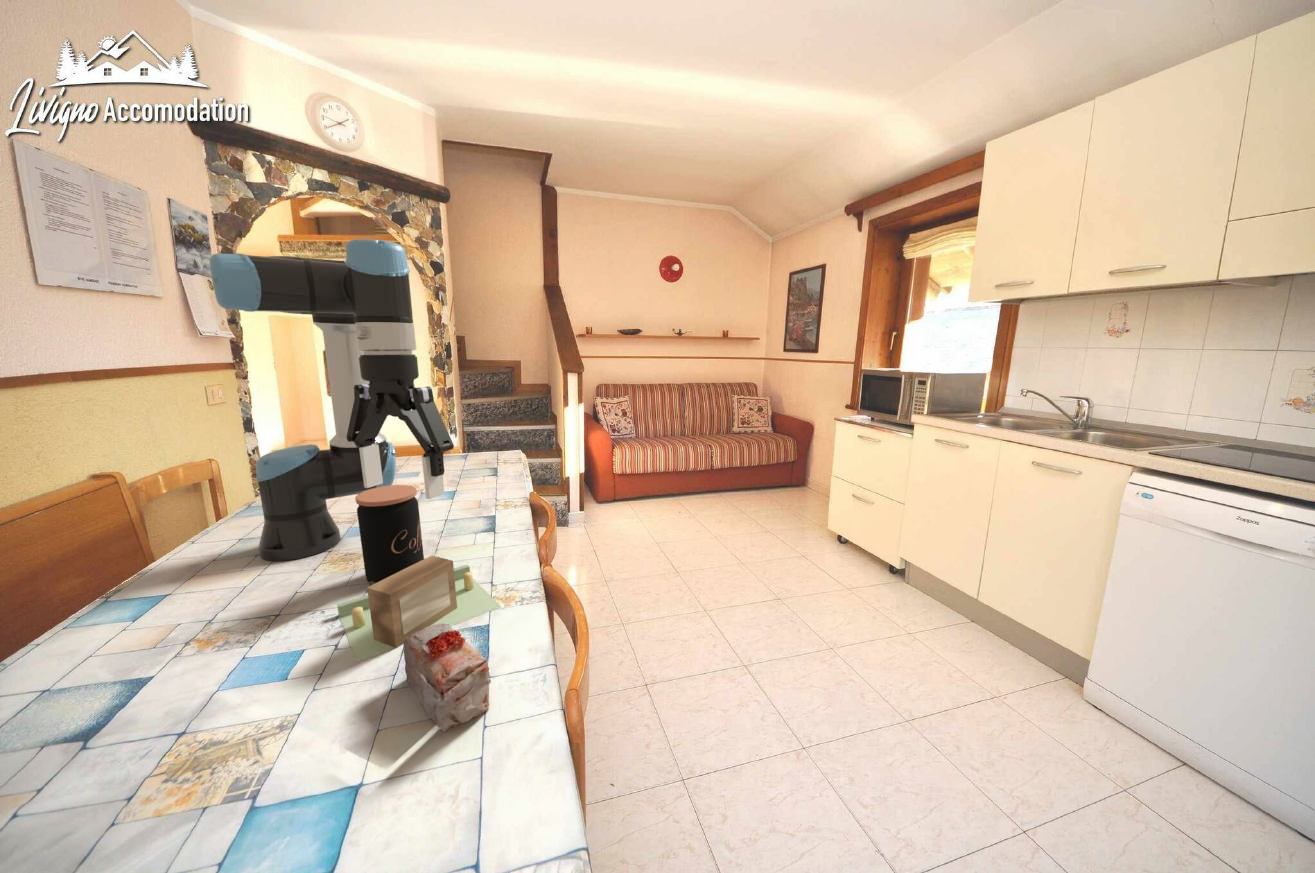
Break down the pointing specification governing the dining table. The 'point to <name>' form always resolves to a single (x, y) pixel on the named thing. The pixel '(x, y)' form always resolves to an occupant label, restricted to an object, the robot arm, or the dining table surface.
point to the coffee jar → (389, 530)
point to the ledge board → (468, 606)
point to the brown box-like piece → (412, 599)
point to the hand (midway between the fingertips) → (403, 490)
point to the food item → (446, 675)
